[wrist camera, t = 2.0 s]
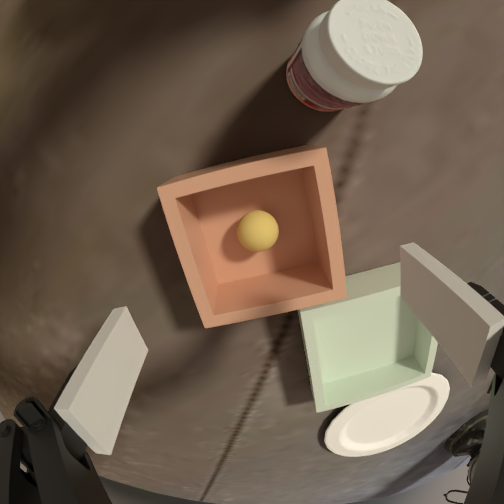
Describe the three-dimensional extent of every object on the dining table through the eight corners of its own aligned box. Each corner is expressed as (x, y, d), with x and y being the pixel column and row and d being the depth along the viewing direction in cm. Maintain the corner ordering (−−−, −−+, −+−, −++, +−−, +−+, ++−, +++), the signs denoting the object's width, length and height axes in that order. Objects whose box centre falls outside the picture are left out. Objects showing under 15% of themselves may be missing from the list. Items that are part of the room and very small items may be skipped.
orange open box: (175, 176, 23) (156, 187, 18) (307, 144, 23) (326, 147, 17) (211, 292, 27) (204, 328, 22) (328, 266, 27) (347, 297, 22)
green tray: (293, 288, 27) (300, 312, 24) (426, 254, 27) (446, 271, 23) (310, 387, 33) (316, 412, 29) (417, 355, 32) (430, 376, 28)
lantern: (488, 429, 45) (530, 509, 18) (426, 467, 48) (459, 556, 20) (500, 394, 39) (559, 490, 11) (426, 441, 42) (472, 555, 14)
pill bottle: (350, 120, 22) (425, 115, 11) (278, 102, 21) (306, 72, 11) (362, 56, 20) (434, 16, 9) (291, 35, 19) (325, -30, 9)
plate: (300, 449, 39) (301, 458, 37) (367, 359, 32) (372, 368, 30) (398, 446, 42) (401, 453, 40) (467, 368, 34) (472, 374, 33)
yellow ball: (233, 211, 24) (231, 222, 21) (271, 202, 24) (275, 211, 21) (242, 247, 25) (242, 262, 22) (279, 238, 25) (284, 253, 22)
